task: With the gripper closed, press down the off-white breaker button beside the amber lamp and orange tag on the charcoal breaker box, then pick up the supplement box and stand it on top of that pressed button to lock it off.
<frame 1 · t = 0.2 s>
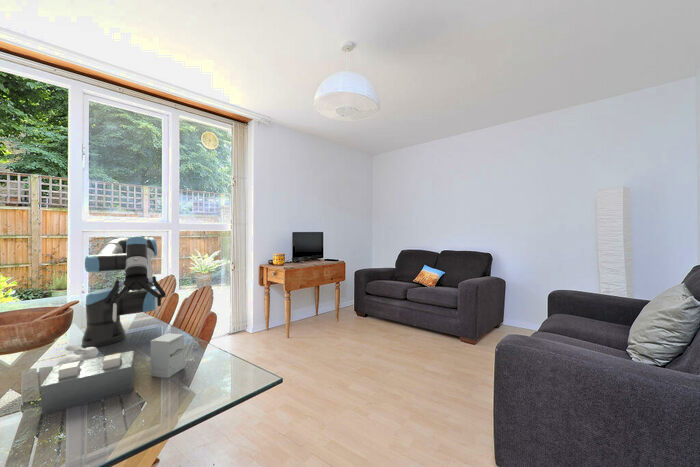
hand: (136, 317, 116), 16 cm above the table, tool tilted 35°, fingers open, 13 cm apart
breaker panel: (93, 391, 92), on the table
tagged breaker: (112, 364, 93), point 8 cm above the table, slide at 0.0 cm
rabbit: (78, 377, 102), on the table
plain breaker: (69, 373, 88), point 8 cm above the table, slide at 0.0 cm
supplement box: (168, 372, 104), on the table
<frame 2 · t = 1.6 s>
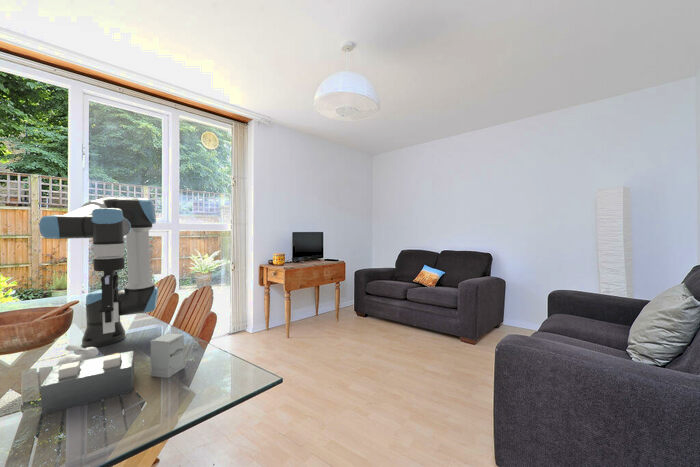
hand: (111, 327, 93), 20 cm above the table, tool pointing down, fingers open, 10 cm apart
nothing on the table moved.
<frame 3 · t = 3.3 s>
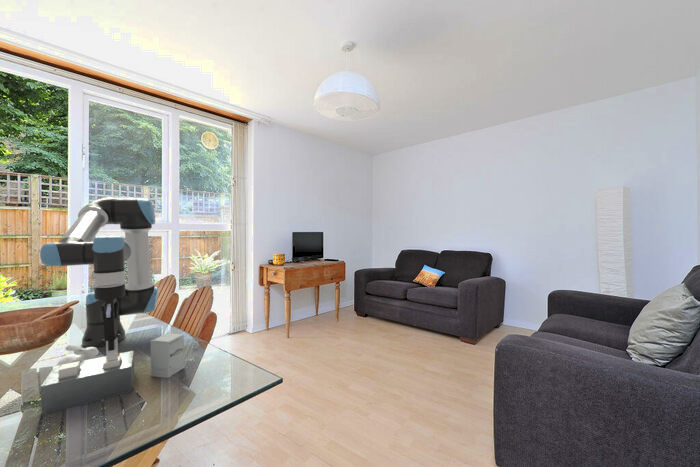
hand: (112, 359, 93), 10 cm above the table, tool pointing down, fingers closed
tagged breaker: (112, 367, 93), point 7 cm above the table, slide at 0.9 cm, touching gripper
everything else where it was.
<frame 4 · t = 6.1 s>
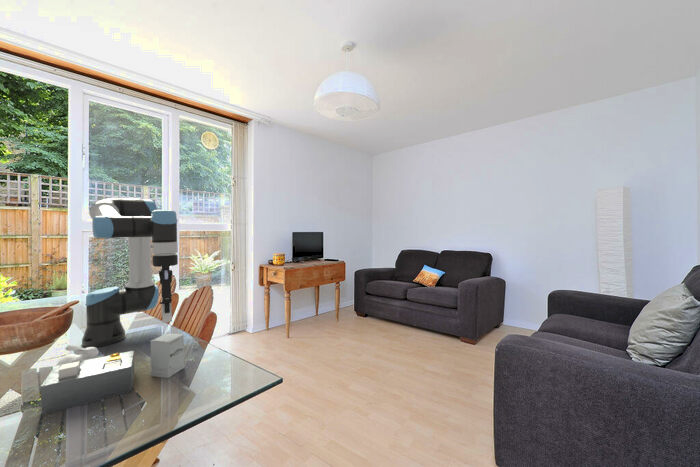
hand: (166, 318, 104), 19 cm above the table, tool pointing down, fingers open, 8 cm apart
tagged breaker: (112, 372, 93), point 5 cm above the table, slide at 2.6 cm
everything else where it was.
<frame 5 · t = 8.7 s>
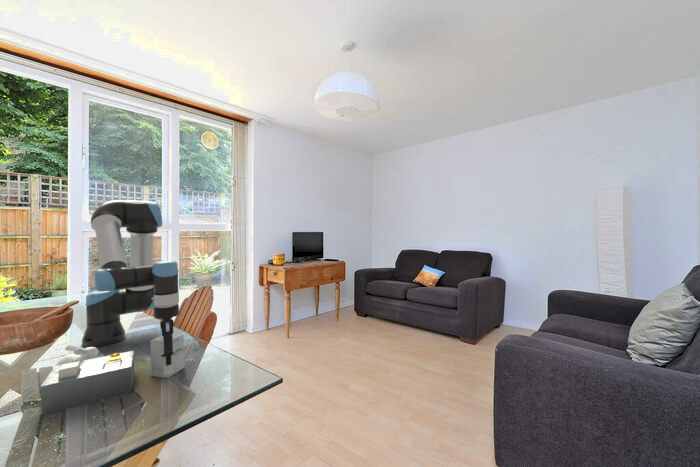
hand: (168, 367, 104), 2 cm above the table, tool pointing down, fingers closed on supplement box, 10 cm apart
supplement box: (168, 372, 104), on the table, touching gripper
everything else where it was.
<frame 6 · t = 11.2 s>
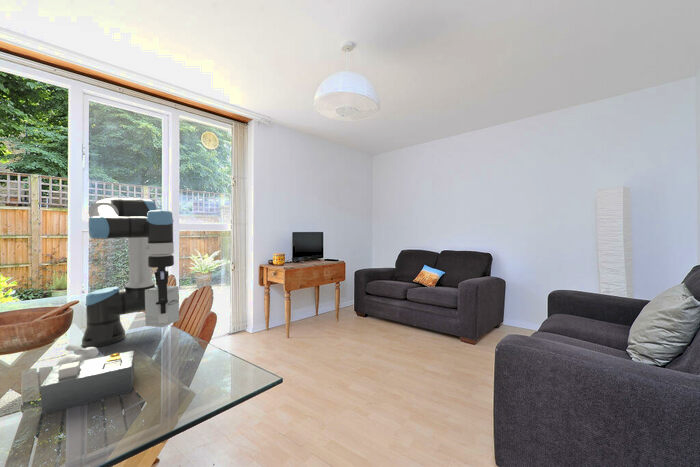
hand: (162, 318, 103), 20 cm above the table, tool pointing down, fingers closed on supplement box, 10 cm apart
supplement box: (162, 323, 103), point 18 cm above the table, touching gripper
everything else where it was.
when the fingers open (11 cm above the table, at t = 14.2 s): supplement box stays where it is, resting on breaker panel.
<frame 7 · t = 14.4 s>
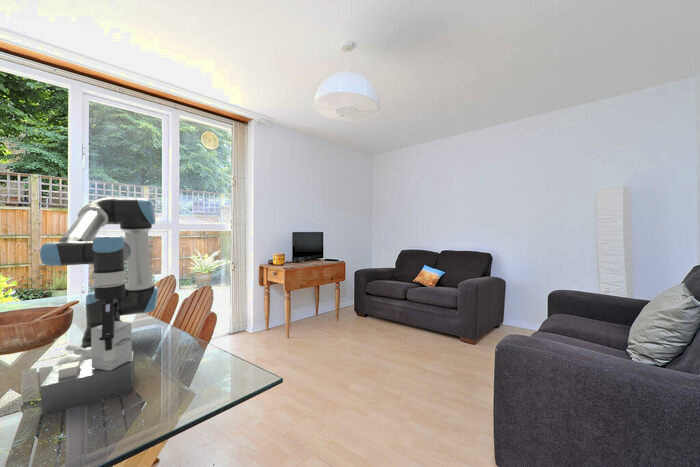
hand: (112, 351, 93), 12 cm above the table, tool pointing down, fingers open, 13 cm apart
supplement box: (112, 364, 93), point 8 cm above the table, touching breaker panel
everything else where it was.
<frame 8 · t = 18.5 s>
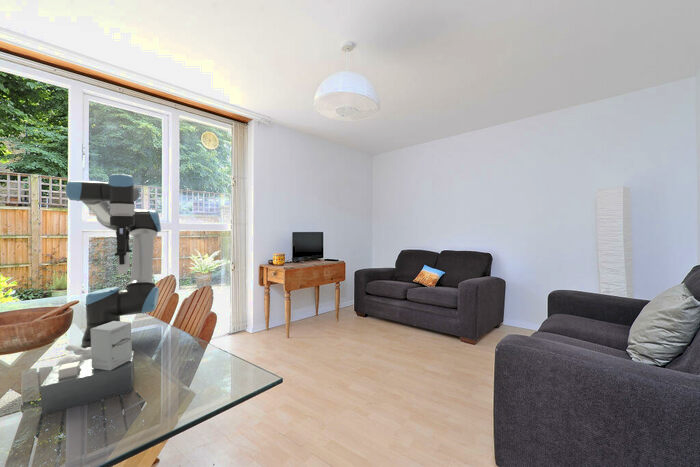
hand: (124, 271, 113), 35 cm above the table, tool pointing down, fingers open, 13 cm apart
nothing on the table moved.
at the end: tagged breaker slide at 2.6 cm; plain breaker slide at 0.0 cm; supplement box 0.1 cm from the target spot, point 8.0 cm above the table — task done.
